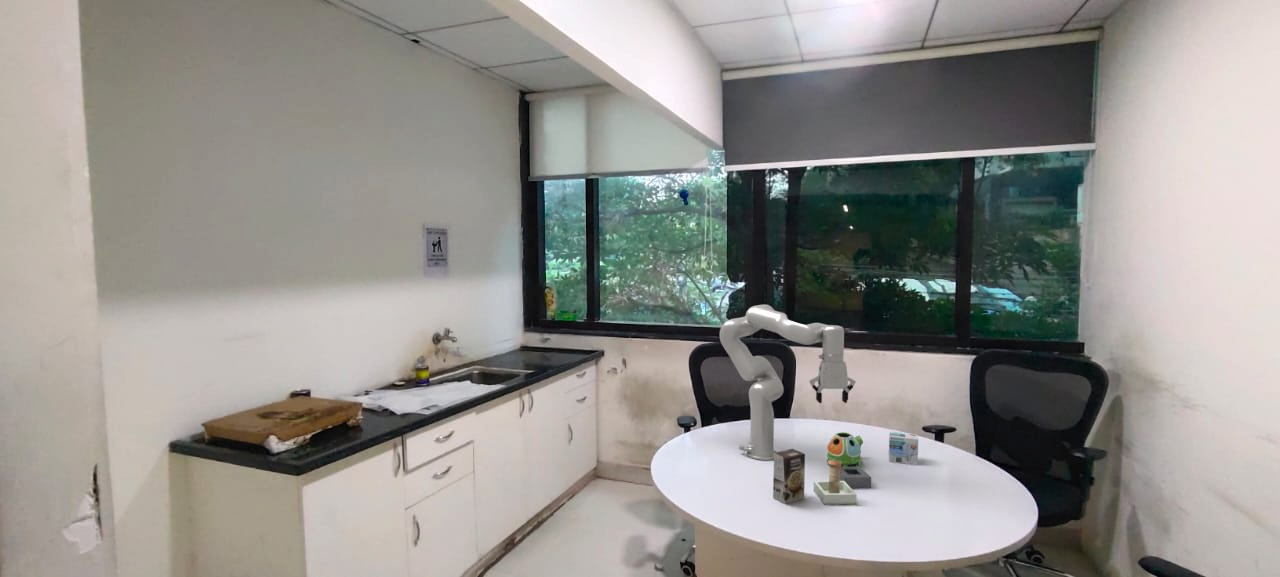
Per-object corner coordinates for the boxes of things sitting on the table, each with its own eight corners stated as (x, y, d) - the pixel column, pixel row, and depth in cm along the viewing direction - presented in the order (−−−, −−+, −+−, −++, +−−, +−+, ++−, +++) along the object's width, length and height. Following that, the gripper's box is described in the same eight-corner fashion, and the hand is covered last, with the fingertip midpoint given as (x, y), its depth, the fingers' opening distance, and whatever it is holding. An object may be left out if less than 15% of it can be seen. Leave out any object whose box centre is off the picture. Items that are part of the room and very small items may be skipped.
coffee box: (785, 504, 186) (785, 458, 185) (772, 497, 191) (772, 452, 190) (805, 498, 190) (805, 453, 189) (792, 491, 196) (792, 447, 194)
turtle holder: (874, 462, 222) (875, 433, 221) (845, 472, 212) (845, 442, 211) (848, 453, 232) (849, 425, 231) (819, 461, 223) (820, 433, 222)
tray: (824, 504, 185) (824, 494, 185) (813, 490, 196) (813, 481, 196) (856, 504, 185) (856, 494, 185) (843, 490, 196) (844, 480, 196)
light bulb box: (888, 462, 222) (889, 436, 221) (888, 456, 228) (888, 431, 228) (918, 465, 218) (919, 439, 217) (916, 459, 224) (917, 434, 224)
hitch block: (843, 488, 198) (843, 477, 198) (833, 476, 208) (833, 466, 208) (871, 488, 198) (871, 477, 198) (859, 476, 208) (859, 466, 208)
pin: (830, 498, 189) (830, 464, 188) (825, 492, 193) (826, 459, 192) (842, 498, 189) (843, 464, 188) (838, 492, 193) (838, 459, 192)
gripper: (813, 360, 204) (812, 405, 205) (859, 359, 204) (858, 404, 205) (807, 356, 211) (806, 399, 212) (851, 355, 211) (850, 399, 212)
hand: (831, 402), depth 209 cm, fingers open, 9 cm apart
